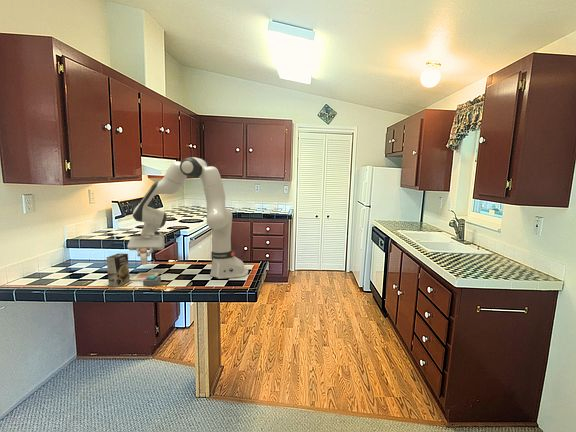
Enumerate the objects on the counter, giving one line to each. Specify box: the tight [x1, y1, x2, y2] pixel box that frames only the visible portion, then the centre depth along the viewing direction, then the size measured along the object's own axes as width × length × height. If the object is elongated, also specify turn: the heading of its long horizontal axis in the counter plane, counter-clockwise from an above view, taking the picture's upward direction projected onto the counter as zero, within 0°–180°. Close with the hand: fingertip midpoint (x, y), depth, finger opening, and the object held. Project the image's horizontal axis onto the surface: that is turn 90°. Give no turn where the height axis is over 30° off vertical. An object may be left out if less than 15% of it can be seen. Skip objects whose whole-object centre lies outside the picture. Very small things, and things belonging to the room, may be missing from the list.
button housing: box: [142, 275, 162, 287], centre depth 171 cm, size 7×7×3 cm
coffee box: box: [106, 253, 131, 288], centre depth 171 cm, size 9×6×16 cm
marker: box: [139, 248, 149, 266], centre depth 180 cm, size 4×4×9 cm
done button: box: [148, 275, 156, 280], centre depth 171 cm, size 4×4×2 cm
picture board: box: [130, 272, 161, 282], centre depth 182 cm, size 12×12×1 cm
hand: (143, 255), depth 180 cm, fingers closed on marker, 4 cm apart
